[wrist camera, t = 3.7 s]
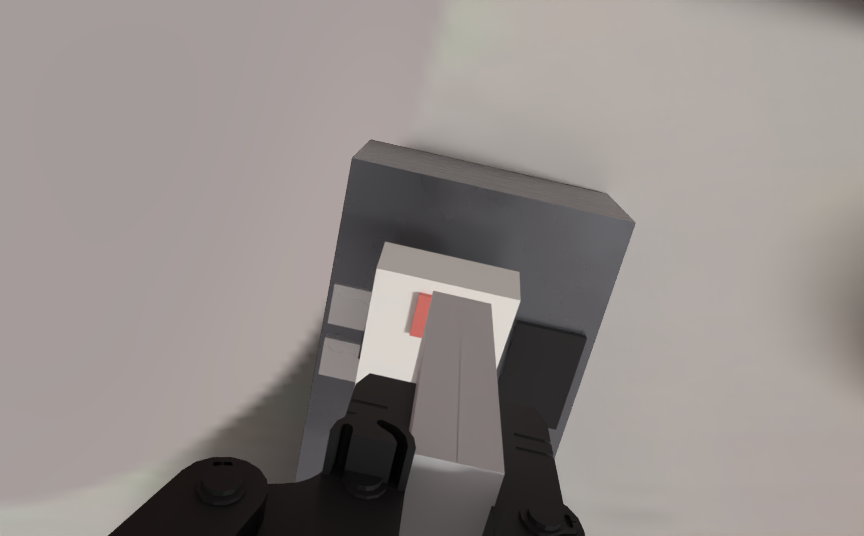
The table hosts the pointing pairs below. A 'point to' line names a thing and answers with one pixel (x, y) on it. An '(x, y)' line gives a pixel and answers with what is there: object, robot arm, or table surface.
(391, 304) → the block
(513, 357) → the switch panel
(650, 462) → the table surface
